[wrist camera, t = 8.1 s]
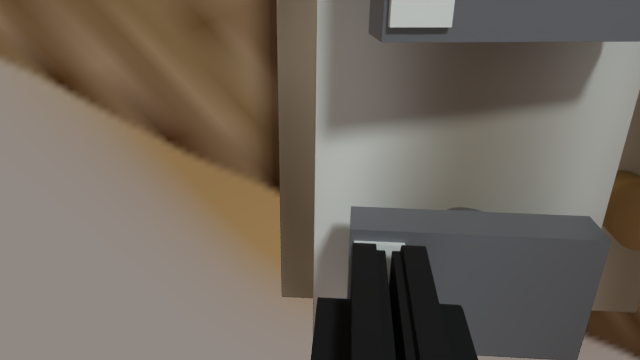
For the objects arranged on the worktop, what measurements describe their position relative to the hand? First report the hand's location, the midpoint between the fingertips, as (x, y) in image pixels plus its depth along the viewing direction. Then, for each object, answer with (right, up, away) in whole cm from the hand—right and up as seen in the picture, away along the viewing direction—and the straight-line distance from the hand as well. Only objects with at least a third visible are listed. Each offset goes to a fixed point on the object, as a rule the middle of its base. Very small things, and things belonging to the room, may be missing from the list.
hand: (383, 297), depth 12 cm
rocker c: (+2, +1, +3) cm, 4 cm away
